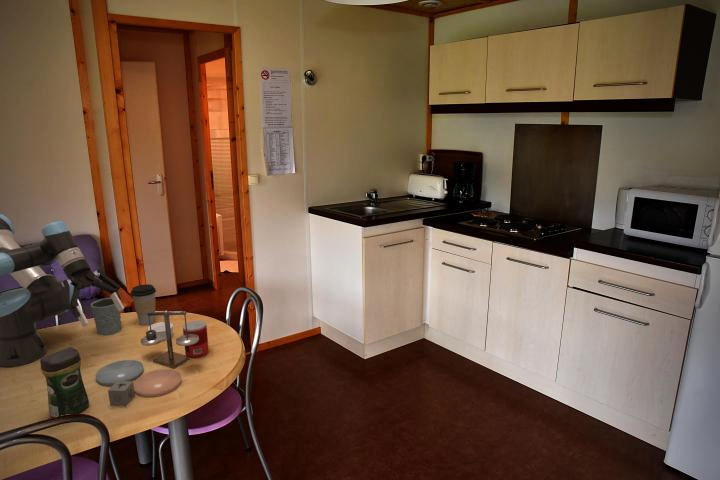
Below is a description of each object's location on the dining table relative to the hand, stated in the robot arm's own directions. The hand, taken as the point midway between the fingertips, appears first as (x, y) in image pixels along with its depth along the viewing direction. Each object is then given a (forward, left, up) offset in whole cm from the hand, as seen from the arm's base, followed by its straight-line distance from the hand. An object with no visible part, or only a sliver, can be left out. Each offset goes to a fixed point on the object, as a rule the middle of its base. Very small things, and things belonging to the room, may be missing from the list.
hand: (104, 317), depth 167 cm
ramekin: (+3, +20, -16) cm, 25 cm away
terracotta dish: (+29, -5, -15) cm, 33 cm away
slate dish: (+13, -6, -15) cm, 21 cm away
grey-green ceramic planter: (-20, +15, -16) cm, 29 cm away
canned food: (+25, +16, -16) cm, 33 cm away
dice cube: (+27, -16, -16) cm, 35 cm away
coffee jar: (+17, -26, -15) cm, 35 cm away
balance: (+21, +8, -15) cm, 27 cm away
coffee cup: (-13, +27, -15) cm, 33 cm away
